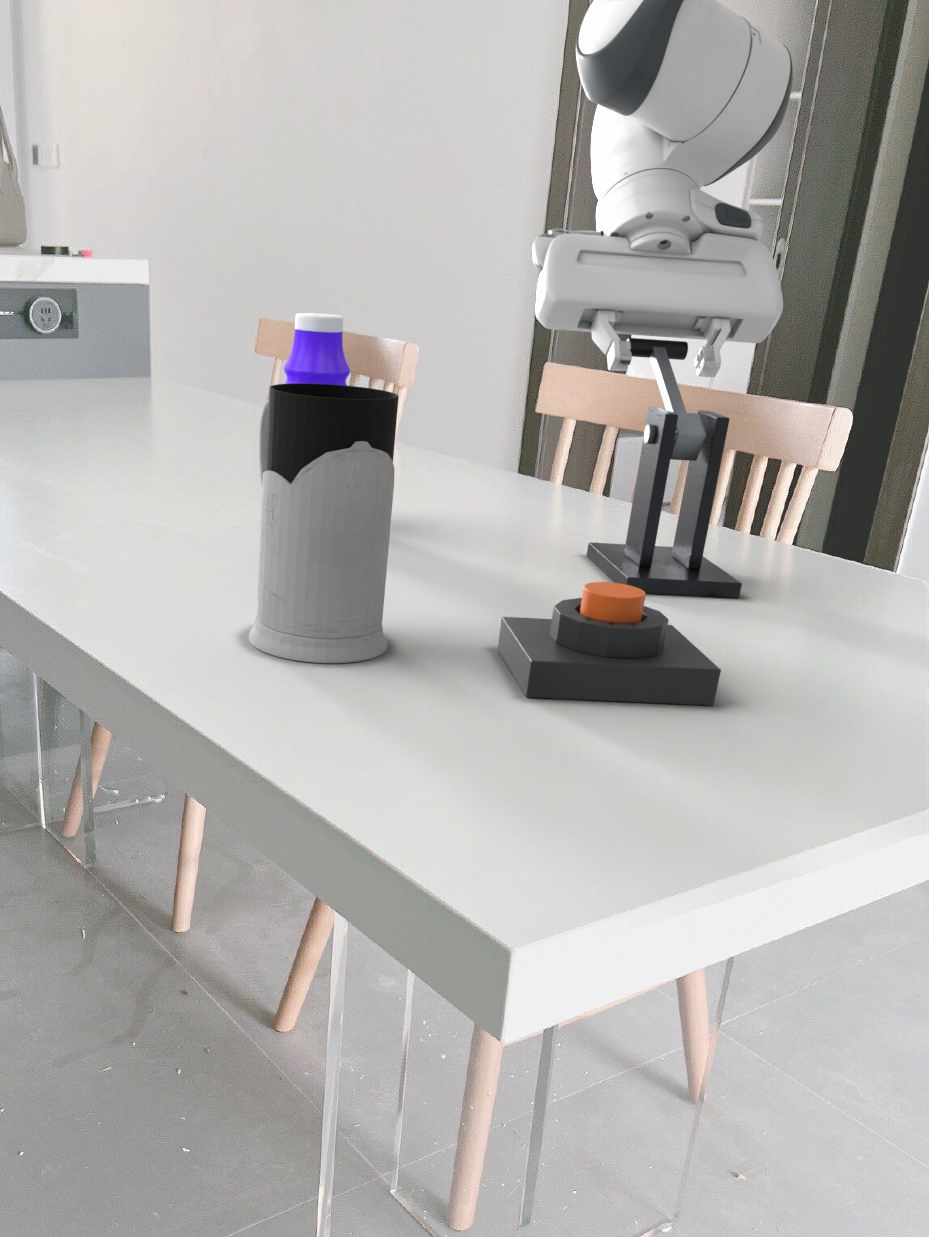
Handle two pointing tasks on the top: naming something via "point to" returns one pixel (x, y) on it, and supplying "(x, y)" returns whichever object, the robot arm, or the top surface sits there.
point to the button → (612, 602)
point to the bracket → (684, 561)
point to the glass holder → (324, 521)
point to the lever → (672, 394)
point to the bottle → (317, 351)
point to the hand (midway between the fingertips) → (664, 369)
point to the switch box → (606, 659)
